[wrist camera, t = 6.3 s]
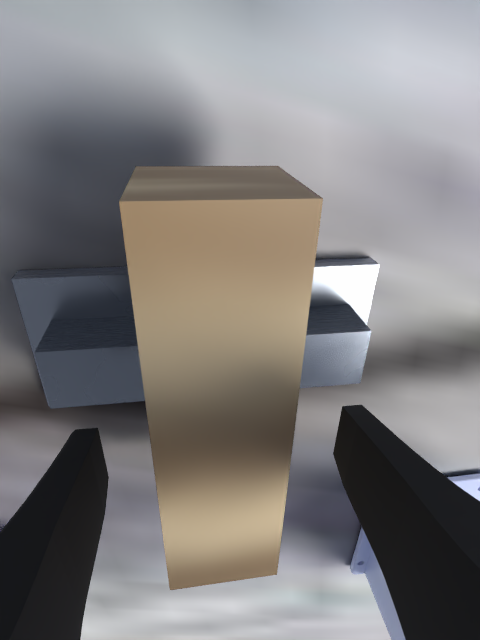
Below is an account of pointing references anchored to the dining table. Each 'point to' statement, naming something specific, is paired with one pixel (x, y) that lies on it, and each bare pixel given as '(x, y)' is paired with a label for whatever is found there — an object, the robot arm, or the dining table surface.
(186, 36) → the dining table surface
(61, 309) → the ridge
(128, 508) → the dining table surface
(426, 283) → the dining table surface
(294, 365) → the bar
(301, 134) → the dining table surface
